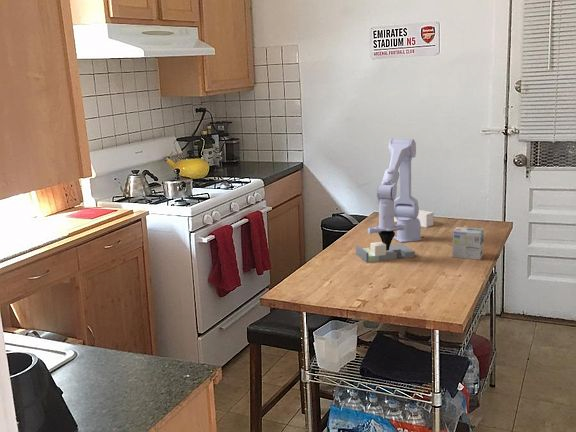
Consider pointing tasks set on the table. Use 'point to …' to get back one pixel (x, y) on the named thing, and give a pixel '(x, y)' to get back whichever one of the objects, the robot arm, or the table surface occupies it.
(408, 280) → the table surface
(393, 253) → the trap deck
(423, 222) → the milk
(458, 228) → the light bulb box
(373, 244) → the block
